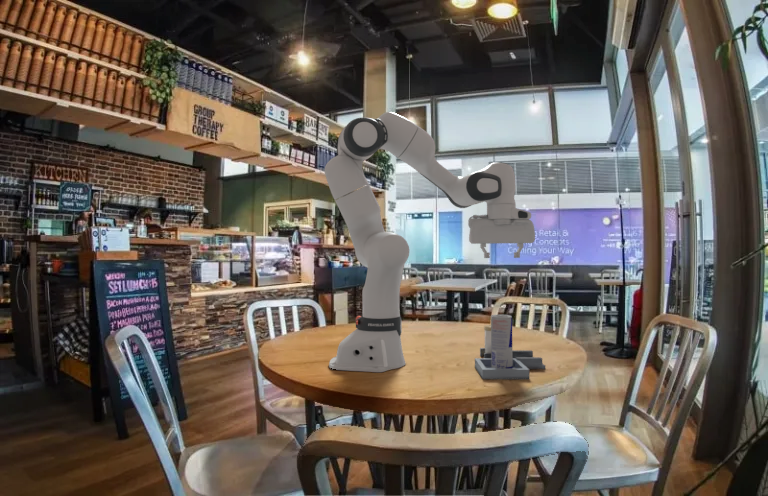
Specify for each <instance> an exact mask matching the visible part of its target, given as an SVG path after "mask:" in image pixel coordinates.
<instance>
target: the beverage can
mask: <svg viewBox="0 0 768 496" xmlns="http://www.w3.org/2000/svg"><path fill="white" fill-rule="evenodd" d="M490 325H491V368H513V357H512V350H513V316H512V315H508V314H491V315H490Z"/></svg>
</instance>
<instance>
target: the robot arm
mask: <svg viewBox="0 0 768 496" xmlns="http://www.w3.org/2000/svg"><path fill="white" fill-rule="evenodd" d="M378 150H384V151H386V152H389V153H390V154H391V155H393V156H394V157H396V158H397V159H399V160H400V161H402V162H404V163H405V164H407V165H408V166H410V167H411V168H412V169H414V170H415V171H417V172H418V174H420V175H422V177H424V178H425V179H426V180H427V181H429V182H430V183H432V185H434V186H436V187H437V188H438V189H439V190H441V191H442V192H443V193H444V194H445V196H446V198H447V199H448V201H449V202H450V203H451V204H452V205H453V206H455V207H456V208H459V209H466V208H469V207H472V206H475V205H478V204H481V203H486V214H473V215H472V216H470V217H469V218H468V222H467V224H468V227H469V234H468V235H469V237H468V242H469V244H471V245H473V244H474V245H476V244H477V245H478V244H479V245H480V247H479V248H480V250H481V251H482V252H483V258H484V259H490V257H491V256H490V254H491V252H487V249H486V247H487V244H488V245H489V244H492V245H493V244H517V245H516V246H517V250H516V251H514V252H513V258H515V259H517V258H518V259H520V257H521V252H522V250H523V248H524V244H533V243H534V242H535V240H536V232H535V224H534V223H533V221H532V220H531V218H532V213H531V212H530V211H528V210H523V209H520V208H517V205H516V200H515V193H516V175H515V171H514V168H513V167H512V165H510V164H508V163H506V162H502V161H501V162H496V161H495V162H491V163H490V164H488V165H487V166H486V167H484V168H482V169H480V170H477V171H474V172H471V173H470V174H467V175H464V176H457V175H454V174H453V173H452V172H451V171H449V170H448V169H447V168H446V167H444V166H443V165H442V164H440V163H439V161H437V159H436V156H435V154H436V142H435V140H434V138H433V136H431V135H430V134H429V133H428V132H427V131H426V130H425V129H423V128H422V127H420V126H419V125H418V124H416V123H415V122H414V121H411V120H410V119H408V118H406V117H404V116H402V115H400V114H397V113H395V112H392V111H385V112H384V113H382V114H381V115H379V116H378V118H370V117H357V118H353V119H352V120H351V121H350V122H348V124H347V125H345V126H344V127H343V128H342V129H341V132H340V134H339V136H338V139H337V141H336V152H335V153H336V154H335V156H334V157H332V158H330V160H328V162H327V163H326V164H325V167H324V175H325V179H326V183H327V185H328V187H329V190H330V194H331V196H332V198H333V199H334V201H335V204H336V206H337V208H338V209H339V211H340V213H341V216H342V218H343V220H344V222H345V224H346V227H347V230H348V233H349V236H350V240H351V242H352V244H353V248H354V253H355V257H356V260H357V261H358V262H359V264H361V265H362V266H363V267H365V268H367V271H366V278H365V283H364V285H363V288H362V292H361V293H362V295H361V296H362V297H361V298H362V301H361V302H362V316H361V315H357V316H356V317H355V328H356V329H355V330H353V331H352V332H350V334H348V335H346V337H344V338H343V339H342V340H341V341H340V342H339V345H338V346H337V352H336V356H334V357H332V358H331V359H330V360H329V363H328V368H330V369H331V368H332V369H331V370H333V369H336V370H337V371H351V372H367V373H368V372H372V373H383V372H386V371H389V370H394V369H399V368H402V367H404V366H405V365H406V364H407V363H406V360H405V356H404V353H403V345H402V338H401V335H402V329H403V328H402V316H401V315H400V312H401V311H400V304H401V303H400V298H401V296H400V295H401V294H400V293H401V291H400V289H401V282H402V278H403V272H404V268H405V264H406V262H407V261H408V258H409V256H410V245H409V243H408V241H407V240H406V239H405V238H404V237H403V236H401V235H400V234H398V233H396V232H392V231H385V228H384V225H383V220H382V216H381V206H380V204H379V202H378V200H377V199H376V196H375V194H374V192H373V189H372V187H371V186H370V184H369V182H368V179H367V178H366V176H365V174H364V170H363V163H364V162H365V161H366V160H368V159H369V158H371V157H372V156H373V155H374V154H375V153H376V152H377V151H378Z"/></svg>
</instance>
